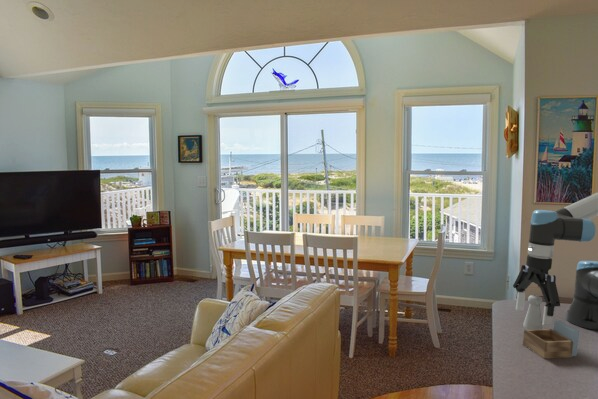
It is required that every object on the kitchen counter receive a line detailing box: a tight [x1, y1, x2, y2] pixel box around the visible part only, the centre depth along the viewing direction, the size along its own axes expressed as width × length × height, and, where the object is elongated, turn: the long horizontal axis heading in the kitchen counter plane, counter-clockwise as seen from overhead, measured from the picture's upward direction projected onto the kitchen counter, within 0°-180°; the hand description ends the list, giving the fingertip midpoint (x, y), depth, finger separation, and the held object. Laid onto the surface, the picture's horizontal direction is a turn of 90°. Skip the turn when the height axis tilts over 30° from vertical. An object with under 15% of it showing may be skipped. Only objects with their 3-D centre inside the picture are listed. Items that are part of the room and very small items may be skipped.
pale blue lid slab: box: [552, 320, 580, 357], centre depth 142 cm, size 2×8×8 cm, turn 10°
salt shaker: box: [522, 294, 543, 330], centre depth 155 cm, size 6×6×13 cm
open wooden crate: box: [522, 328, 573, 359], centre depth 142 cm, size 10×10×5 cm
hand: (532, 317), depth 155 cm, fingers open, 13 cm apart
